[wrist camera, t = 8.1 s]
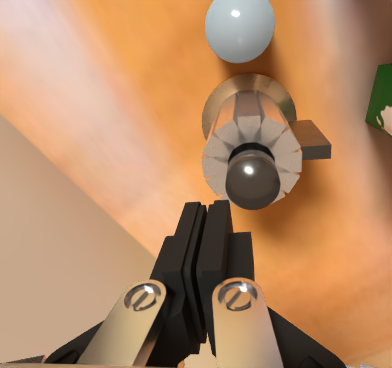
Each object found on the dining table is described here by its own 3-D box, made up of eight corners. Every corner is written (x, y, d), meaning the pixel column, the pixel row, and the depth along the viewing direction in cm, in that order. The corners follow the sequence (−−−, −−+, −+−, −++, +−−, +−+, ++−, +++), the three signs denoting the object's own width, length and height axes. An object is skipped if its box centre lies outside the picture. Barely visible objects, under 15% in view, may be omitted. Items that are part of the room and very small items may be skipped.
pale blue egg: (267, -8, 38) (274, -20, 30) (268, 54, 41) (275, 59, 33) (209, 0, 39) (201, -9, 31) (214, 60, 42) (208, 66, 34)
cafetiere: (305, 67, 41) (343, 85, 26) (302, 160, 46) (332, 221, 31) (197, 78, 43) (174, 101, 28) (207, 166, 48) (191, 225, 33)
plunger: (264, 108, 41) (280, 159, 24) (265, 141, 43) (280, 208, 26) (230, 111, 42) (223, 162, 25) (232, 143, 43) (227, 210, 27)
